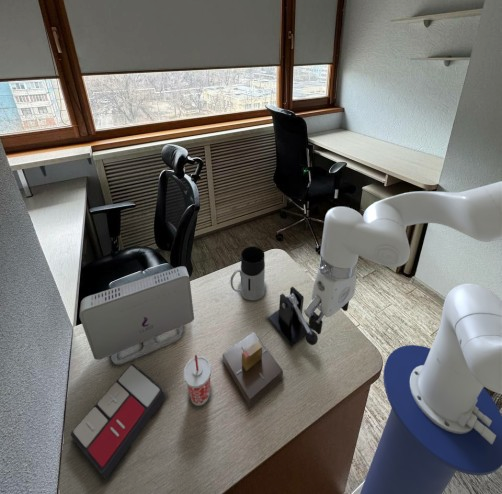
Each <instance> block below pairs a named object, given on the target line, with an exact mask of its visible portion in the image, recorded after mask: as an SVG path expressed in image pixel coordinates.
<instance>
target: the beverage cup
mask: <svg viewBox="0 0 502 494" xmlns="http://www.w3.org/2000/svg"><path fill="white" fill-rule="evenodd" d="M211 364H212V363H211V361H210V360H209V359H208V358H207V357H205V356H203V355H197V354H195V355H194V357H192V358H191V359H189V361H187V363H186V365H184V369H183V379H184V382H185V383H186V386H187V390H188V393H189V397H190V401H191V403H192V404H193V405H195V406H202V405H204V404H206V403H207V402H208V400H209V398H210V396H211V395H210V394H211V377H212V376H211V375H212V365H211Z"/></svg>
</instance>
